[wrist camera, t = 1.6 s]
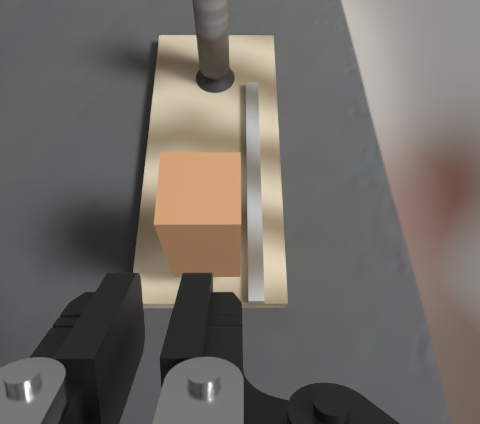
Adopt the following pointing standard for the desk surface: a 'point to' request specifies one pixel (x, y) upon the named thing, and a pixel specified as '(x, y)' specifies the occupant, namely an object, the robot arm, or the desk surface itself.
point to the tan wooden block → (200, 212)
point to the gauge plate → (218, 150)
